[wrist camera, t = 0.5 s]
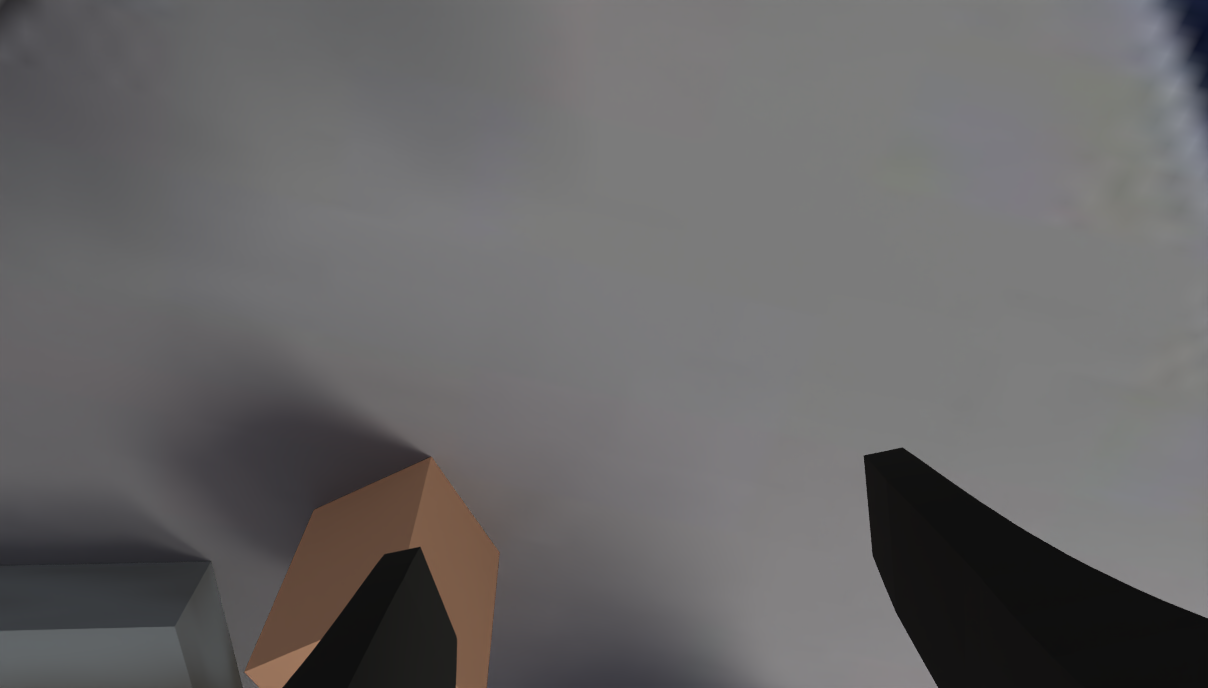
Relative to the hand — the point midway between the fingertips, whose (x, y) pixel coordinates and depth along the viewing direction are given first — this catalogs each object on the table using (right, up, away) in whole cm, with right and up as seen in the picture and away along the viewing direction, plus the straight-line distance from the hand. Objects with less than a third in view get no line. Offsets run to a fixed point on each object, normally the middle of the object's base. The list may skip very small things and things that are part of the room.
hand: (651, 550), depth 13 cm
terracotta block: (-7, -2, +12) cm, 14 cm away
